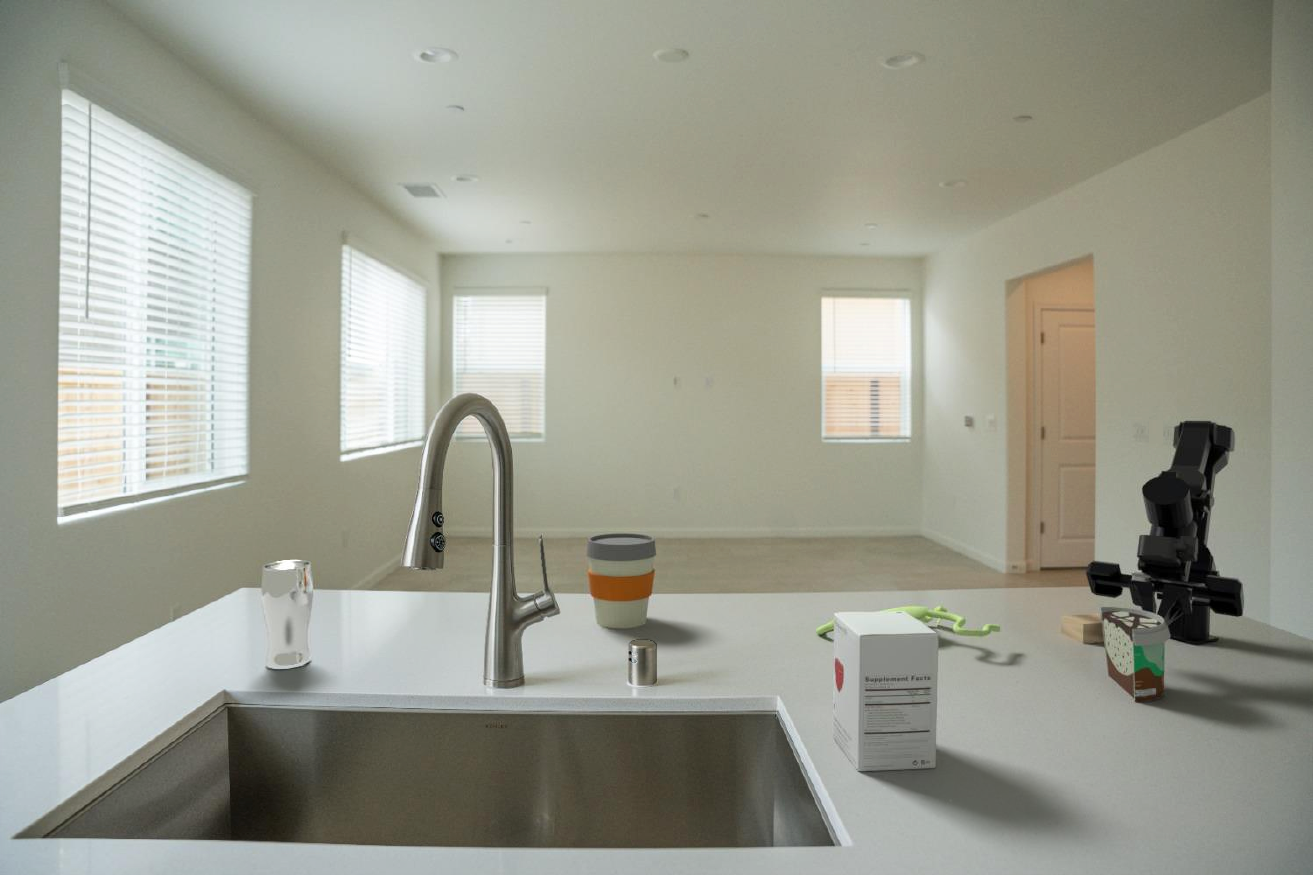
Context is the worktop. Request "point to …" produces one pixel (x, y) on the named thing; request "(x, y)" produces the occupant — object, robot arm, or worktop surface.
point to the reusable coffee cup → (621, 578)
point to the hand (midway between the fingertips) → (1152, 636)
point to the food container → (1135, 651)
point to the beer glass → (287, 610)
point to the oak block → (1083, 628)
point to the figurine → (925, 616)
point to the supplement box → (885, 690)
